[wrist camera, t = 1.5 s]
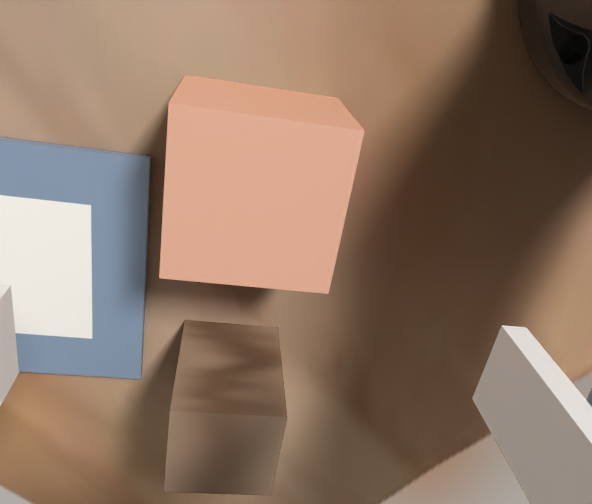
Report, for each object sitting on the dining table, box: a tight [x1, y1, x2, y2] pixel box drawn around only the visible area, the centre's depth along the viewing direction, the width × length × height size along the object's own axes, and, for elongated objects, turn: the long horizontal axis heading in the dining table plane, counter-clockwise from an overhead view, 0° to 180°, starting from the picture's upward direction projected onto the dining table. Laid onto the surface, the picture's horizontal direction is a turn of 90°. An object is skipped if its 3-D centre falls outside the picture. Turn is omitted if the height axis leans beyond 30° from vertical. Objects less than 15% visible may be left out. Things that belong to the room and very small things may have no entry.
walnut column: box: [164, 320, 287, 495], centre depth 32 cm, size 6×6×8 cm
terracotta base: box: [159, 75, 365, 294], centre depth 26 cm, size 8×8×7 cm
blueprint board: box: [0, 137, 151, 379], centre depth 30 cm, size 15×15×1 cm
